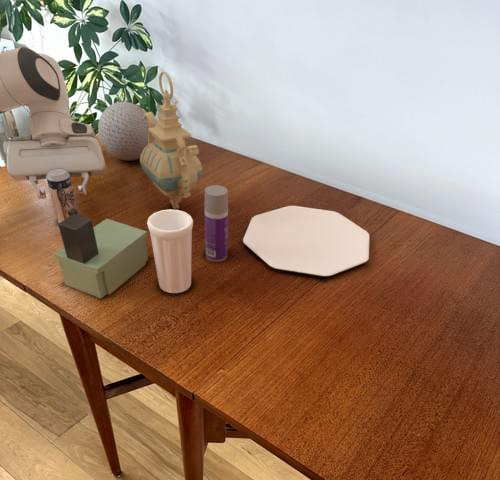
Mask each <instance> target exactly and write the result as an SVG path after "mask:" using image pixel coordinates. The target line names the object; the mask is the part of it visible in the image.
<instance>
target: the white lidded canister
mask: <svg viewBox="0 0 500 480" xmlns="http://www.w3.org/2000/svg"><path fill="white" fill-rule="evenodd" d="M46 178H47V179H46V182H47V186H48V190H49V194H50V196H51V200H52V204H53V208H54V212H55V216H56V220H57V223H58V224H59V223H60V222H62V221H64V220H65V219H67V218H68V217H70V216H72V215H73V214H75V215H79V210H78V206H77V202H76V197H75V193H74V189H73V185H72V179H71V177H70V174H69V173H68V172H67V171H66V170H65V169H63V168H54V169H50V170H49V171H48V172H47V176H46ZM79 216H80V215H79Z"/></svg>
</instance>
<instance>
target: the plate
mask: <svg viewBox="0 0 500 480" xmlns="http://www.w3.org/2000/svg"><path fill="white" fill-rule="evenodd" d="M370 237H371V236H370V233H369V231H367V230H365V229H364V228H363V227H361V226H359V225H358V224H356V223H355V222H353V221H351V220H350V219H349V218H347V217H346V216H344V215H343V214H341V213H339V212H337V211H334V210H327V209H319V208H312V207H307V206H306V207H305V206H299V205H288V206H284V207H279V208H276V209H274V210H269V211H266V212H263V213H260V214H255V215H254V216H252V217H251V219H250V222H249V223H248V226H247V229H246V231H245V234H244V236H243V238H242V242H243V244H244V246H246V247H247V248H248V249H249V250H250V251H251V252H253V253H254V254H255V255H256V256H257V257H258V258H259V259H260V260H262V262H264V263H265V264H266V265H267V266H268V267H270V268H271V269H274V270H279V271H284V272H285V271H286V272H291V273H295V274H297V273H298V274H302V275H303V274H304V275H309V276H316V277H322V278H326V277H332V276H334V275H338V274H340V273H342V272H345V271H348V270H350V269H353V268H356V267H358V266H361V265H363V264H366V263H367V262H368V261H369V259H370Z"/></svg>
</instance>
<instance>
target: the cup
mask: <svg viewBox="0 0 500 480" xmlns="http://www.w3.org/2000/svg"><path fill="white" fill-rule="evenodd" d="M146 225H147V228H148V231H149V235H150V240H151V247H152V252H153V257H154V258H153V259H154V264H155V270H156V275H157V281H158V286H159V288H160V289H161V290H162V291H163V292H166V293H169V294H180V293H183V292H185V291H187V290H189V288H190V287H191V285H192V245H193V239H192V238H193V233H192V231H193V226H194V220H193V218H192V216H191V215H190V214H189V213H187V212H186V211H184V210H179V209H171V208H169V209H163V210H159V211H155V212H153V213H152V214H151V215H150V216H148V218H147V221H146Z"/></svg>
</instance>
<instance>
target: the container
mask: <svg viewBox="0 0 500 480" xmlns="http://www.w3.org/2000/svg"><path fill="white" fill-rule="evenodd" d="M228 234H229V191H228V188H227V187H225V186H223V185H218V184H213V185H209V186H207V187H205V189H204V244H205V245H204V248H205V249H204V251H205V258H206V259H207V260H208V261H210V262H217V263H218V262H223V261H225V260H226V259H227V258H228V241H229V240H228V238H229V237H228V236H229V235H228Z"/></svg>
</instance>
